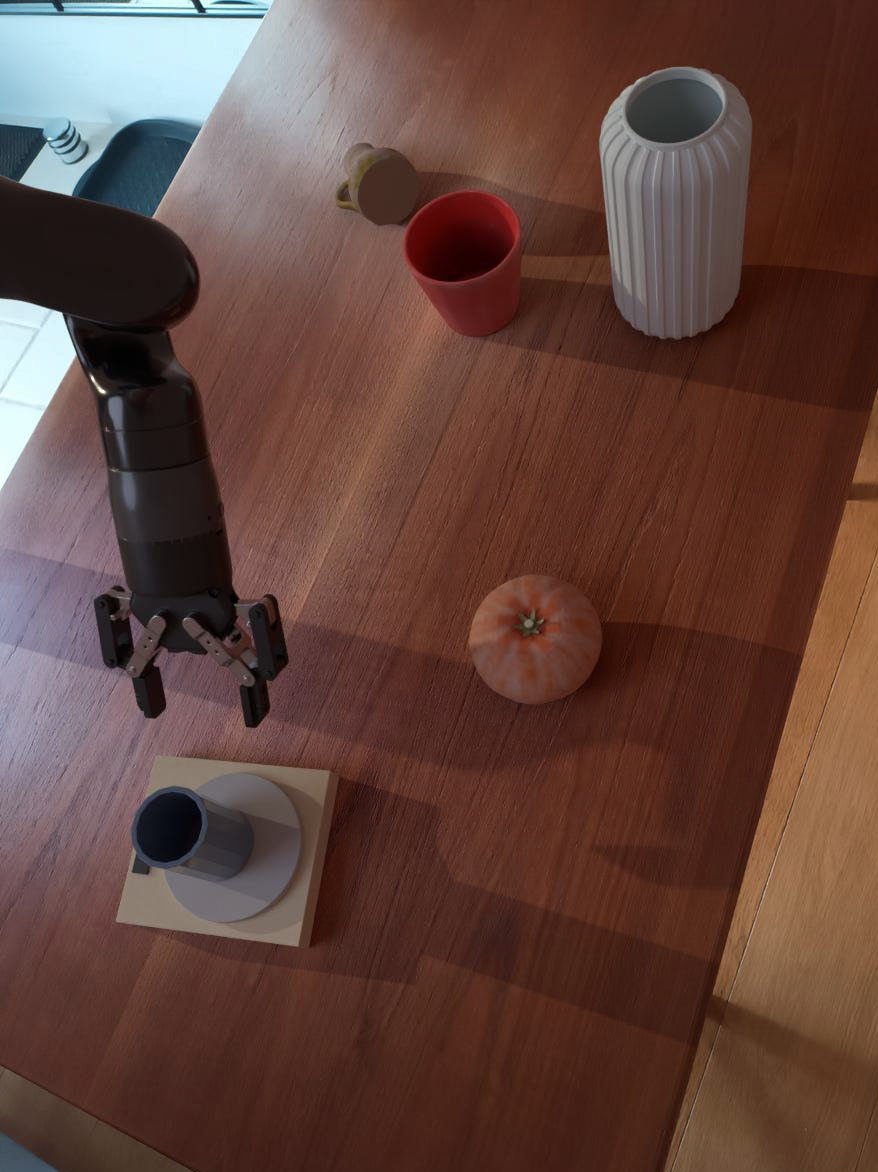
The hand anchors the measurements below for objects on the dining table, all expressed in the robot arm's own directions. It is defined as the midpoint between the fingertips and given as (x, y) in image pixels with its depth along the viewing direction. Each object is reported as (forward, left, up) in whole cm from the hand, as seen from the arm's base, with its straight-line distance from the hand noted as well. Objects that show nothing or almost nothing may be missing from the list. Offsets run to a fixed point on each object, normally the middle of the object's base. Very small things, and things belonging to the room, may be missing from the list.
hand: (205, 718), depth 77 cm
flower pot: (+14, +46, -10) cm, 49 cm away
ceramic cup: (0, -9, -6) cm, 11 cm away
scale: (0, -9, -10) cm, 13 cm away
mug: (+1, +60, -10) cm, 61 cm away
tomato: (+24, +10, -10) cm, 28 cm away
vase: (+33, +46, -10) cm, 58 cm away
